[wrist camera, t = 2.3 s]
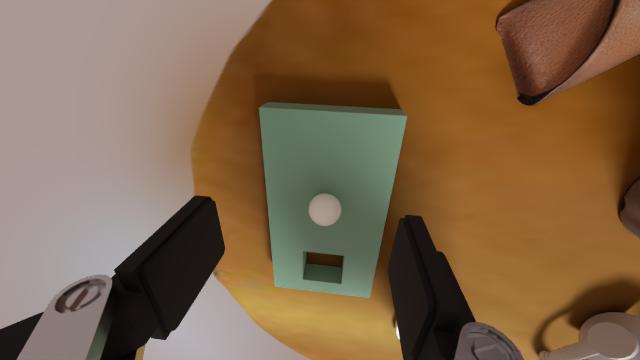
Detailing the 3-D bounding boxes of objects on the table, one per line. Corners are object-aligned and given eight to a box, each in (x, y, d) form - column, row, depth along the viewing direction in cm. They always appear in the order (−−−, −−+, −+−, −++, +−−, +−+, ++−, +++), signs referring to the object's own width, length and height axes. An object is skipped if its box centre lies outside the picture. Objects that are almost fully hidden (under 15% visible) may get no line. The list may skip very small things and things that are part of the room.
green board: (368, 280, 37) (369, 298, 34) (279, 270, 38) (274, 286, 35) (401, 109, 24) (407, 115, 22) (268, 101, 25) (258, 107, 23)
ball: (340, 214, 28) (339, 234, 25) (310, 211, 28) (306, 231, 25) (342, 188, 26) (341, 206, 23) (311, 186, 26) (306, 203, 23)
